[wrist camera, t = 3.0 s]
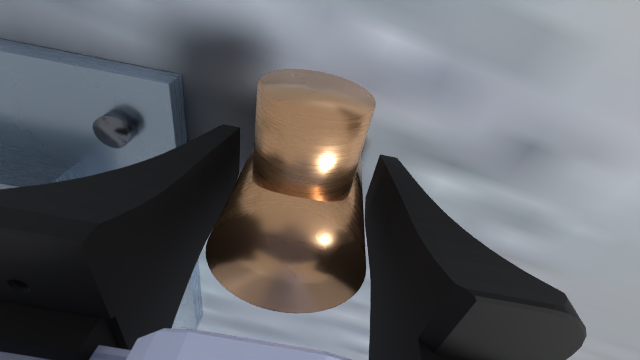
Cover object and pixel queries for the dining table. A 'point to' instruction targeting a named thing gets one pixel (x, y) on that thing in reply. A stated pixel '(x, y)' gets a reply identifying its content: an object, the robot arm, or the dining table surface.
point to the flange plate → (86, 124)
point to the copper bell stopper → (298, 197)
